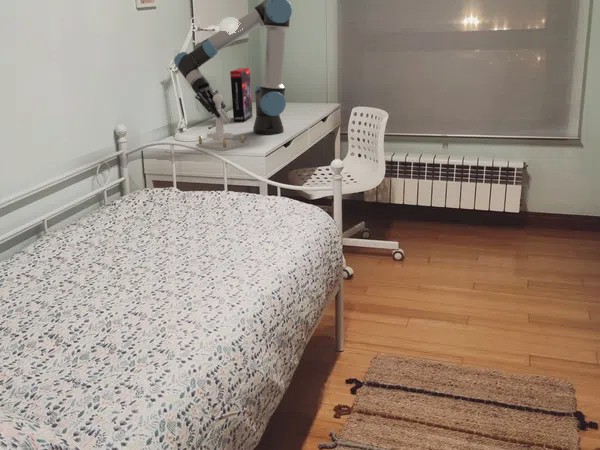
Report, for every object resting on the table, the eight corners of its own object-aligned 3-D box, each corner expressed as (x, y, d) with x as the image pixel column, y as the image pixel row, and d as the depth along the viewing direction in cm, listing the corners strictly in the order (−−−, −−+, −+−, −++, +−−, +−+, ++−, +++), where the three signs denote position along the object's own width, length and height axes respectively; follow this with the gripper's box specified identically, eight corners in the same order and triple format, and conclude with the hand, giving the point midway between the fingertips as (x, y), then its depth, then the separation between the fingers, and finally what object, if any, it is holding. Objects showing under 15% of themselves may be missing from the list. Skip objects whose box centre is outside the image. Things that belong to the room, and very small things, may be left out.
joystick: (233, 137, 315) (230, 93, 309) (226, 140, 308) (223, 95, 302) (211, 136, 318) (208, 93, 312) (203, 139, 312) (200, 95, 306)
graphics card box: (244, 122, 374) (242, 71, 366) (232, 122, 376) (229, 71, 367) (252, 117, 390) (250, 67, 382) (241, 117, 392) (238, 67, 383)
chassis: (220, 140, 326) (219, 131, 325) (247, 144, 317) (247, 134, 315) (196, 146, 314) (195, 136, 313) (223, 150, 304) (222, 140, 303)
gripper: (205, 85, 322) (233, 124, 318) (182, 89, 311) (210, 129, 306) (213, 74, 317) (242, 114, 313) (189, 78, 306) (218, 118, 302)
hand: (226, 121), depth 310 cm, fingers closed on joystick, 2 cm apart
